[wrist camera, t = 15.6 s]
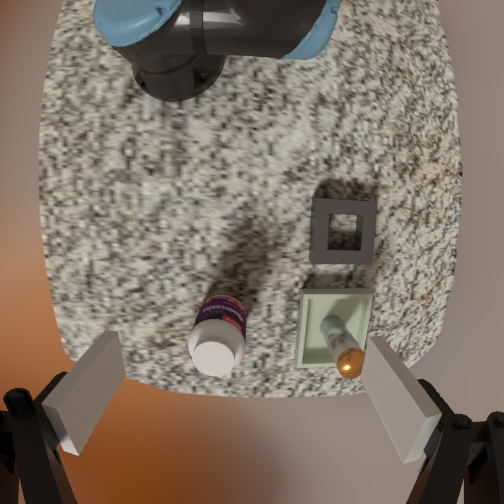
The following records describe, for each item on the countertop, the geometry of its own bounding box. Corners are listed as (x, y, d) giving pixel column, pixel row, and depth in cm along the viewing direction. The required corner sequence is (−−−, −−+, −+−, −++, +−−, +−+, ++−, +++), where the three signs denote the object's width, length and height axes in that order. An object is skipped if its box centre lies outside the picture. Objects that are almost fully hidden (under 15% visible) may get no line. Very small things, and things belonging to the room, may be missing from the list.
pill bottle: (251, 298, 51) (251, 339, 37) (241, 339, 52) (238, 388, 38) (203, 287, 50) (187, 325, 36) (196, 329, 52) (179, 376, 38)
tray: (300, 288, 50) (303, 294, 47) (367, 287, 50) (373, 293, 48) (294, 359, 53) (296, 368, 50) (355, 356, 53) (360, 364, 50)
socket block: (311, 197, 47) (315, 198, 44) (369, 201, 47) (376, 202, 44) (308, 259, 49) (312, 263, 46) (365, 260, 49) (371, 264, 46)
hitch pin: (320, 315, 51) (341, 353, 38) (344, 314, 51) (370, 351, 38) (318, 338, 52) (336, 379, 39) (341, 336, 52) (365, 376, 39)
